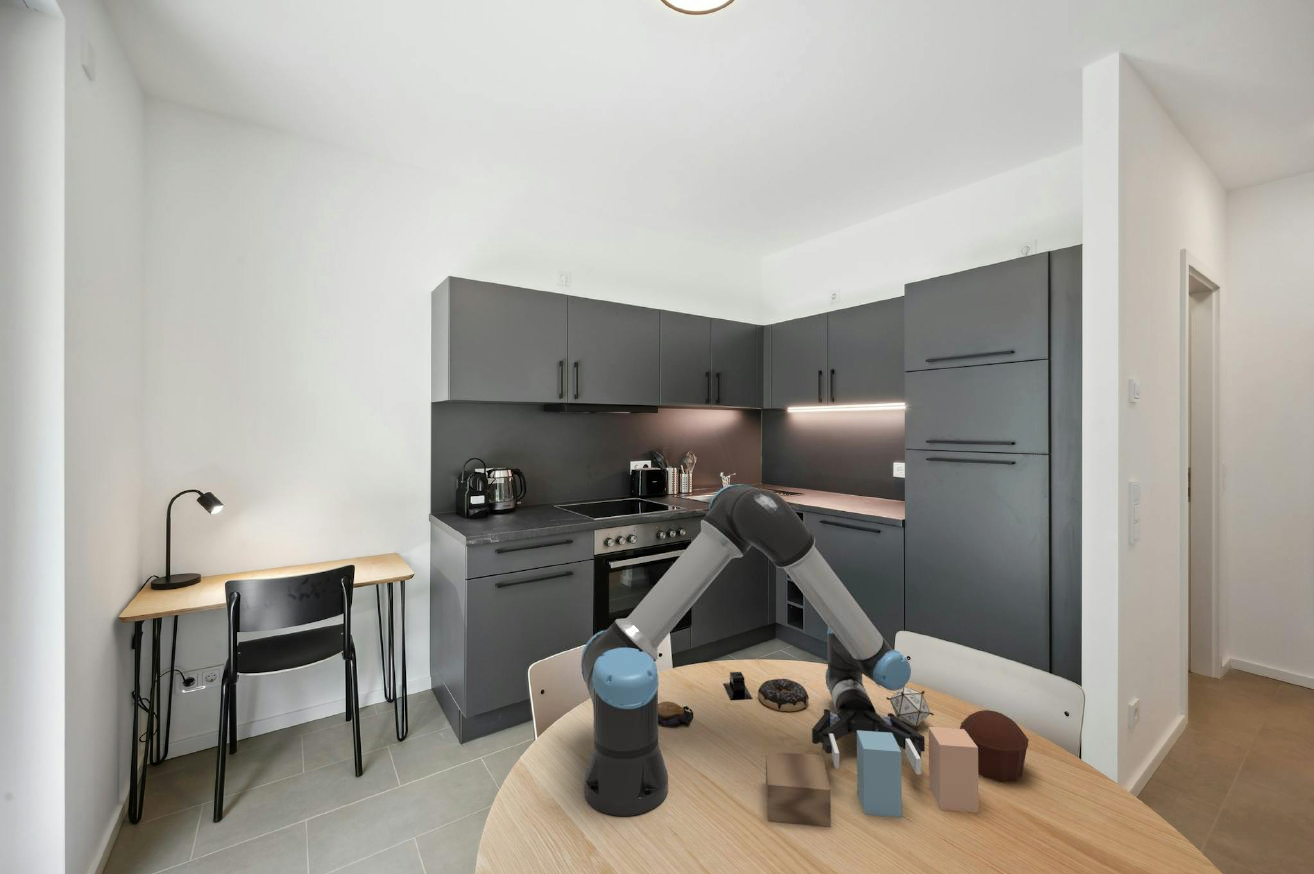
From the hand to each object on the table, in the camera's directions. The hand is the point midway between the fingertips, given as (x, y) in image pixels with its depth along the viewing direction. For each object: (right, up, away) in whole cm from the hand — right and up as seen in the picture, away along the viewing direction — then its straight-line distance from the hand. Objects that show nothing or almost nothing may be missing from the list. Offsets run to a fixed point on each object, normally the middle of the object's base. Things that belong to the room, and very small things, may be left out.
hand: (877, 763), depth 98 cm
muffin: (+26, -6, +9) cm, 28 cm away
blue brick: (0, -6, -1) cm, 6 cm away
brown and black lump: (-36, -7, +29) cm, 47 cm away
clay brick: (+13, -6, 0) cm, 15 cm away
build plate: (-18, -7, +43) cm, 47 cm away
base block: (-14, -6, -1) cm, 16 cm away
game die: (+17, -6, +26) cm, 32 cm away
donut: (-8, -7, +37) cm, 38 cm away
